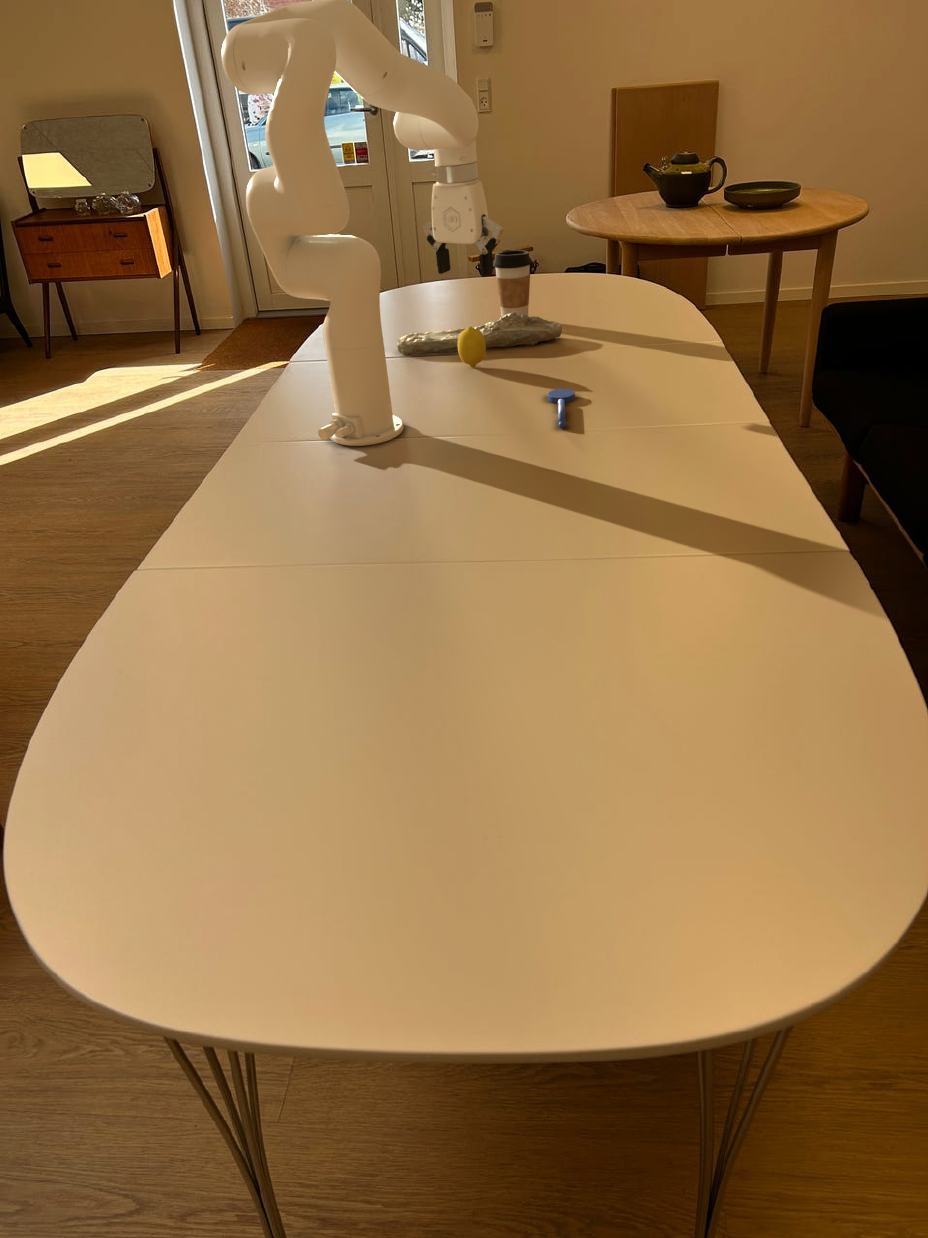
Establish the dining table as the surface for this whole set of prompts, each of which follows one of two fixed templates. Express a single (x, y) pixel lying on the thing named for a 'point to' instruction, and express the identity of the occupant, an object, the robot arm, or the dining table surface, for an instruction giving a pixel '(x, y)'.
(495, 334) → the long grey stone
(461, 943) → the dining table surface
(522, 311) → the coffee cup
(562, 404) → the blue paddle
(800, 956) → the dining table surface
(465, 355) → the lemon
